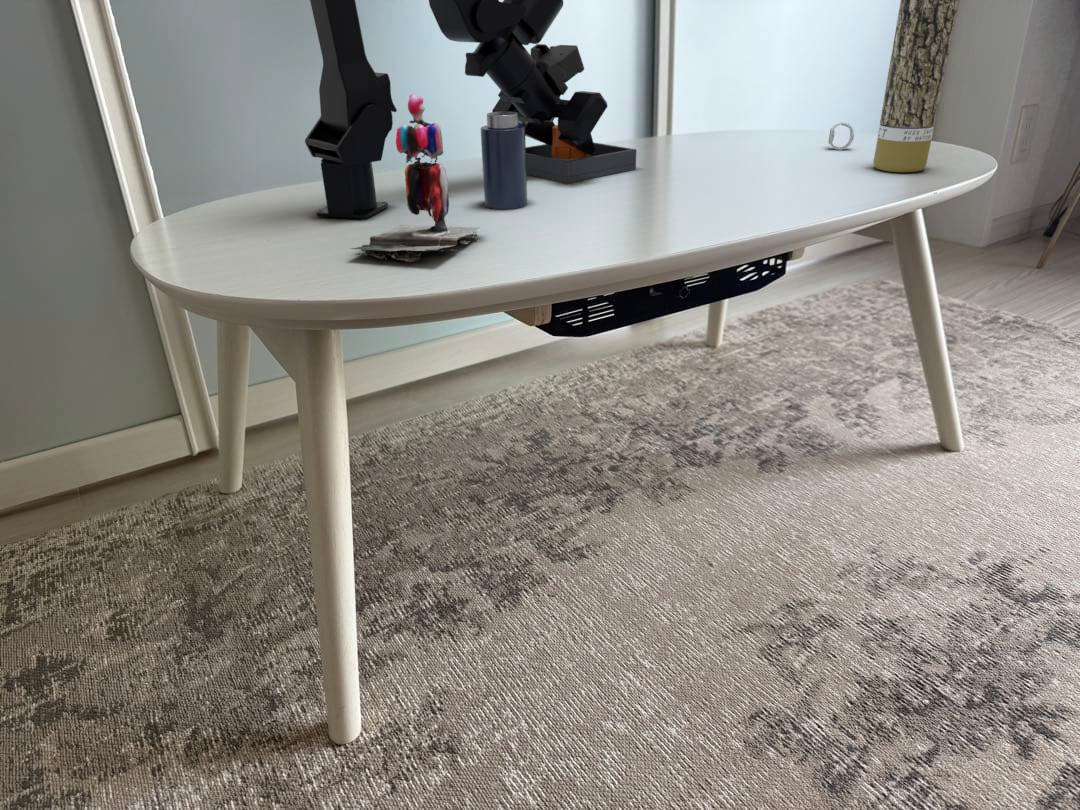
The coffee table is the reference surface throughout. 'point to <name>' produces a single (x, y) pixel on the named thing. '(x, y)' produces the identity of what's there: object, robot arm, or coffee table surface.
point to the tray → (579, 163)
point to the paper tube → (914, 83)
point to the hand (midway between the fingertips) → (578, 150)
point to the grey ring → (833, 135)
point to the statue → (420, 194)
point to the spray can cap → (564, 147)
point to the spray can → (504, 161)
